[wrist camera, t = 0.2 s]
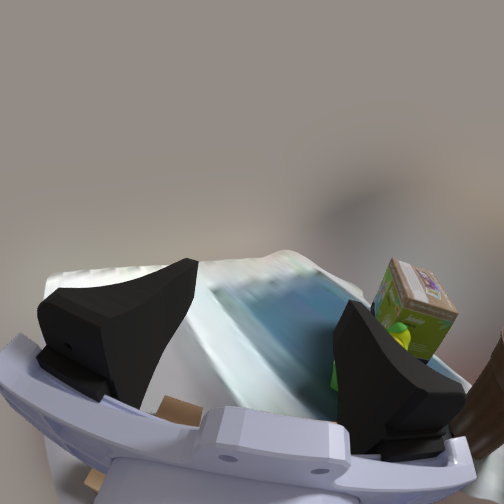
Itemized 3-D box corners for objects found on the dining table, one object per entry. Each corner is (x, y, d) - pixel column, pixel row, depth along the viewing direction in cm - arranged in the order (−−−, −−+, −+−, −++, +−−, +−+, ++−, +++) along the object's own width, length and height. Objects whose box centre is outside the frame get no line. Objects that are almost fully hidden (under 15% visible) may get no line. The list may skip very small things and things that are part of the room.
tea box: (361, 321, 51) (390, 255, 45) (402, 333, 49) (434, 271, 43) (364, 372, 38) (408, 294, 32) (414, 383, 36) (462, 312, 30)
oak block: (134, 511, 14) (127, 505, 12) (95, 493, 14) (83, 483, 12) (147, 481, 17) (142, 470, 16) (110, 464, 17) (101, 450, 16)
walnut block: (190, 453, 22) (191, 438, 20) (153, 440, 22) (150, 424, 20) (200, 424, 25) (202, 407, 24) (165, 413, 26) (165, 395, 24)
